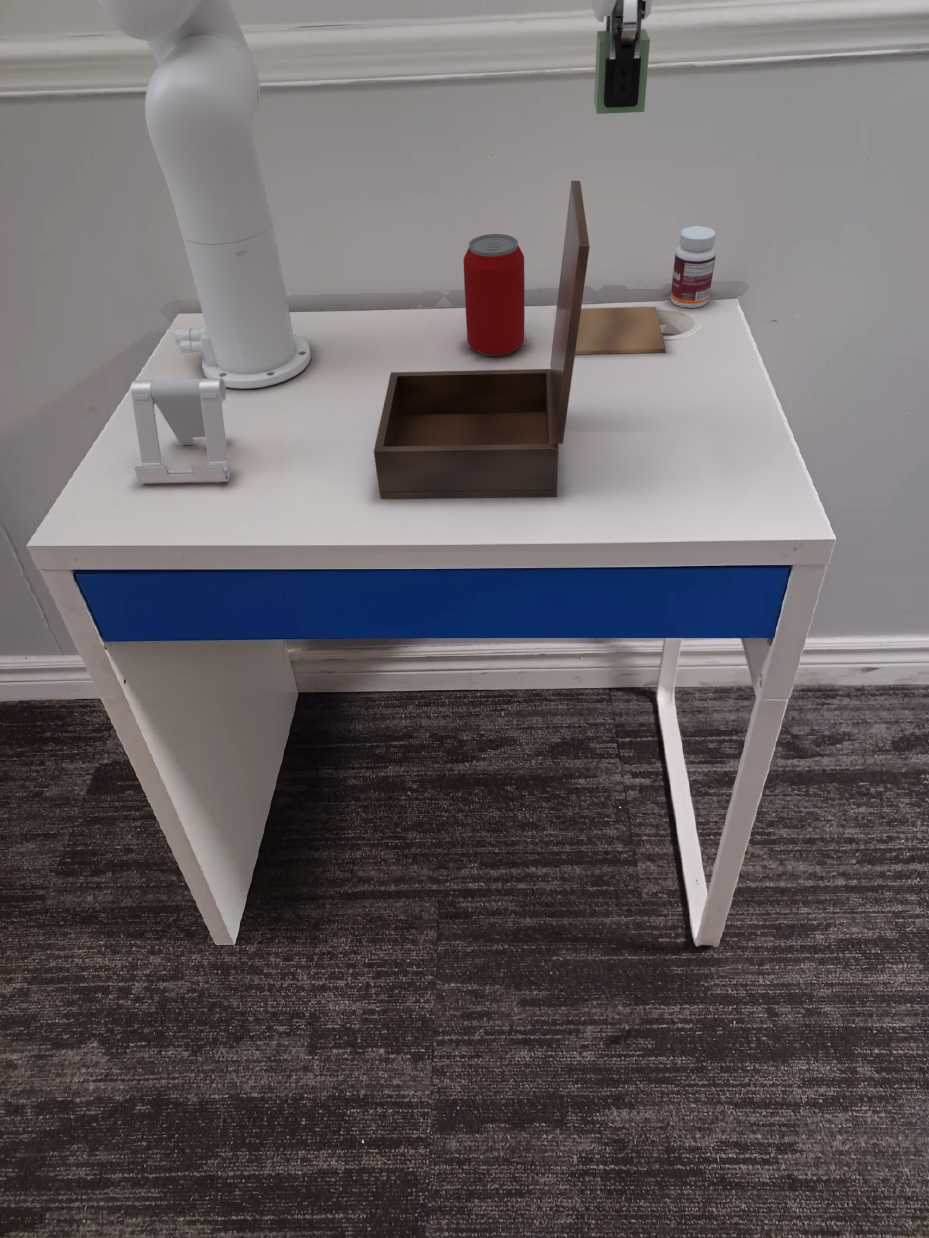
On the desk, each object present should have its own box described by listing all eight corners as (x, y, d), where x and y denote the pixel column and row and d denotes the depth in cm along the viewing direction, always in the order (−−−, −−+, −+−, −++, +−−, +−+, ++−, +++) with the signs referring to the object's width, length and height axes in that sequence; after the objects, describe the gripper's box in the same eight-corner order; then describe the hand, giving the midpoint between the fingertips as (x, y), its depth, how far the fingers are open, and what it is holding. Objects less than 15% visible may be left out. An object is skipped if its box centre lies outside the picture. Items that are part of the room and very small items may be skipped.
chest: (380, 499, 84) (373, 451, 80) (395, 417, 94) (390, 372, 91) (556, 497, 83) (558, 448, 79) (552, 415, 93) (554, 368, 89)
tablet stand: (140, 488, 87) (113, 412, 81) (163, 444, 93) (139, 370, 87) (226, 486, 86) (205, 410, 81) (244, 442, 92) (225, 368, 86)
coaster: (569, 354, 102) (569, 350, 102) (565, 312, 110) (565, 308, 110) (665, 352, 102) (665, 348, 101) (655, 310, 110) (655, 306, 109)
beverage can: (526, 333, 107) (525, 231, 99) (523, 360, 102) (522, 255, 94) (470, 333, 108) (465, 231, 99) (464, 359, 103) (459, 255, 95)
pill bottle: (669, 292, 113) (677, 224, 107) (707, 292, 113) (717, 224, 107) (670, 308, 110) (678, 239, 104) (709, 309, 109) (720, 240, 103)
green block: (596, 114, 86) (599, 42, 82) (594, 101, 90) (597, 31, 85) (644, 112, 86) (650, 39, 82) (640, 99, 89) (645, 29, 85)
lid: (579, 245, 67) (589, 245, 67) (571, 180, 77) (580, 180, 77) (553, 443, 79) (562, 444, 79) (550, 364, 89) (558, 364, 89)
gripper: (583, -149, 81) (576, 79, 94) (593, -134, 69) (583, 125, 81) (667, -154, 81) (648, 76, 93) (691, -141, 68) (666, 122, 81)
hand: (618, 96), depth 87 cm, fingers closed on green block, 4 cm apart
